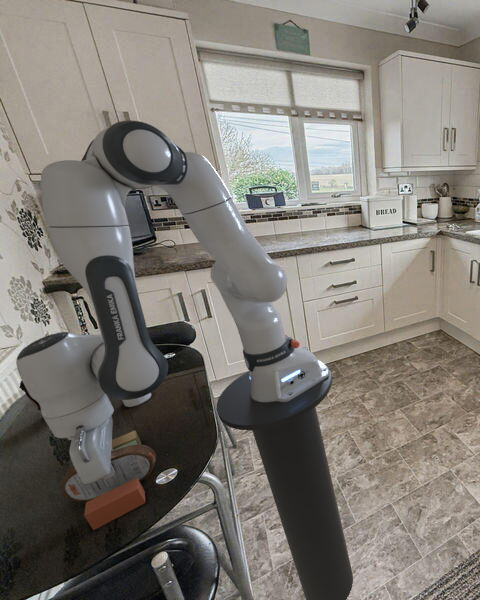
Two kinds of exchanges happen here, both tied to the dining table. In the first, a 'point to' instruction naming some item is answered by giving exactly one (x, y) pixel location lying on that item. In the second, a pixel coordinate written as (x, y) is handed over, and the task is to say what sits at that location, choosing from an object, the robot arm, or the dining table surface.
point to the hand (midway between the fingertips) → (110, 468)
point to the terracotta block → (114, 503)
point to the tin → (127, 467)
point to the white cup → (136, 400)
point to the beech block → (125, 440)
